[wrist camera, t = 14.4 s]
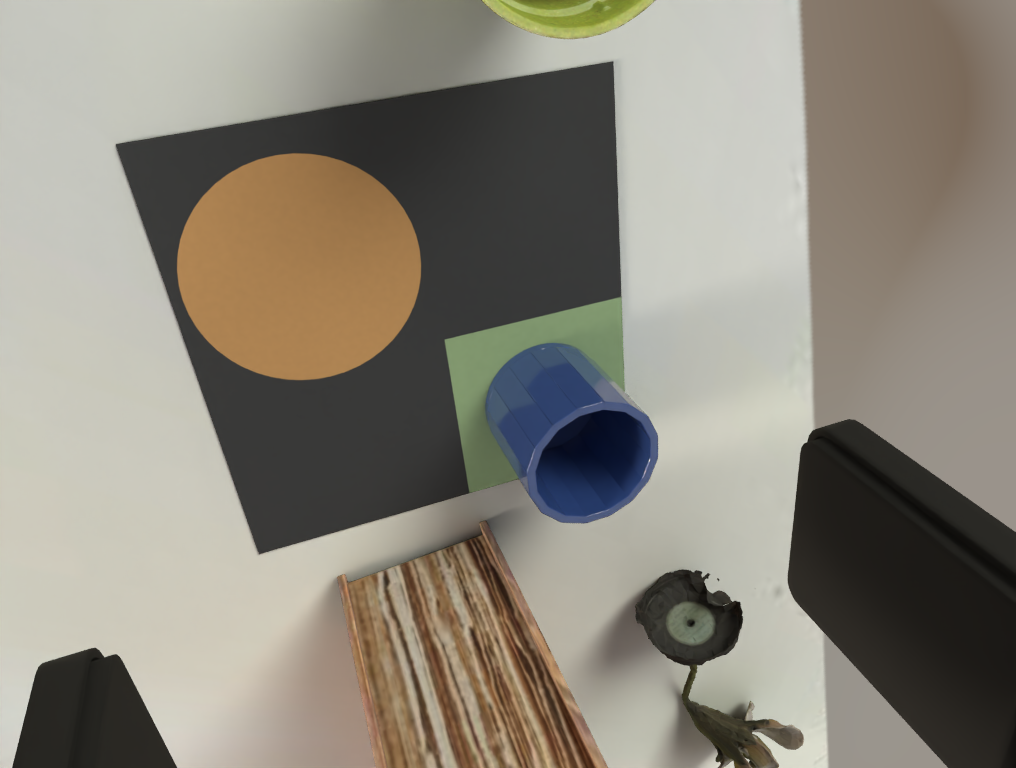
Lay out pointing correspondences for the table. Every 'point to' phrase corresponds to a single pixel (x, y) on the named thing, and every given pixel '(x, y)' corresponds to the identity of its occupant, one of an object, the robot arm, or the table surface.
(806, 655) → the table surface
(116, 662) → the robot arm
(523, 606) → the book
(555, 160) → the desk mat
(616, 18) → the plant pot
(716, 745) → the artificial flower
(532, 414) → the blue cup
